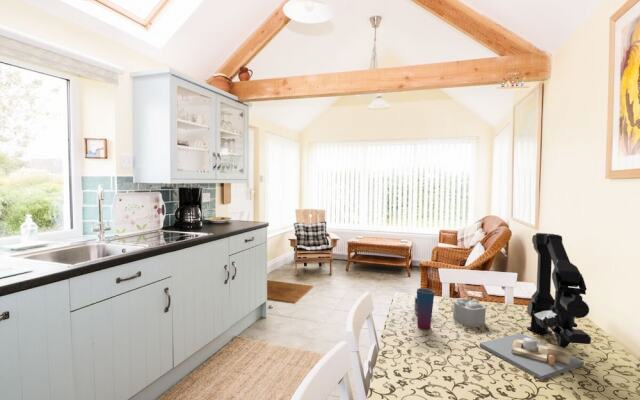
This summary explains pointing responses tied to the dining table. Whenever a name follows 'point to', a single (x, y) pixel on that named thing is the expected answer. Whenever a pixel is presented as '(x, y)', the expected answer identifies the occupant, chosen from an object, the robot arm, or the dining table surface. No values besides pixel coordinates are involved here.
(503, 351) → the board
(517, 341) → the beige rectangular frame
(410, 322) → the dining table surface
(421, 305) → the cup
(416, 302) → the pill bottle
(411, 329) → the dining table surface
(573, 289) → the robot arm
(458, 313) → the lumpy-topped squat cylinder
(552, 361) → the orange rounded piece
